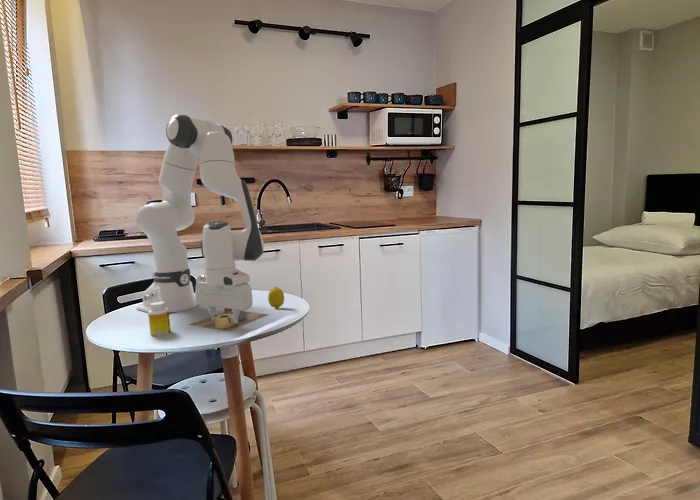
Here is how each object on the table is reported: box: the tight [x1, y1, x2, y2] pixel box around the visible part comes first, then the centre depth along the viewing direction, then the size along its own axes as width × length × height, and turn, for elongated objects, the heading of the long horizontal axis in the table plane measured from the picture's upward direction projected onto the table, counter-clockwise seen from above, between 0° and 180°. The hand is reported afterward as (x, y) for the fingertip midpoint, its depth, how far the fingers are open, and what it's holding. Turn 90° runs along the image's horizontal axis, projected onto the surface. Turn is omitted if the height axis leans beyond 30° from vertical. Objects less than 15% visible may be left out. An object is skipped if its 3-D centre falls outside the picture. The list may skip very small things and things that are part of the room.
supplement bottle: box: [147, 301, 172, 337], centre depth 134 cm, size 6×6×10 cm
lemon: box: [267, 286, 285, 310], centre depth 159 cm, size 6×6×8 cm
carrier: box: [188, 308, 269, 332], centre depth 145 cm, size 17×18×4 cm
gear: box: [215, 314, 235, 330], centre depth 138 cm, size 6×6×3 cm
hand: (224, 321), depth 138 cm, fingers open, 6 cm apart
